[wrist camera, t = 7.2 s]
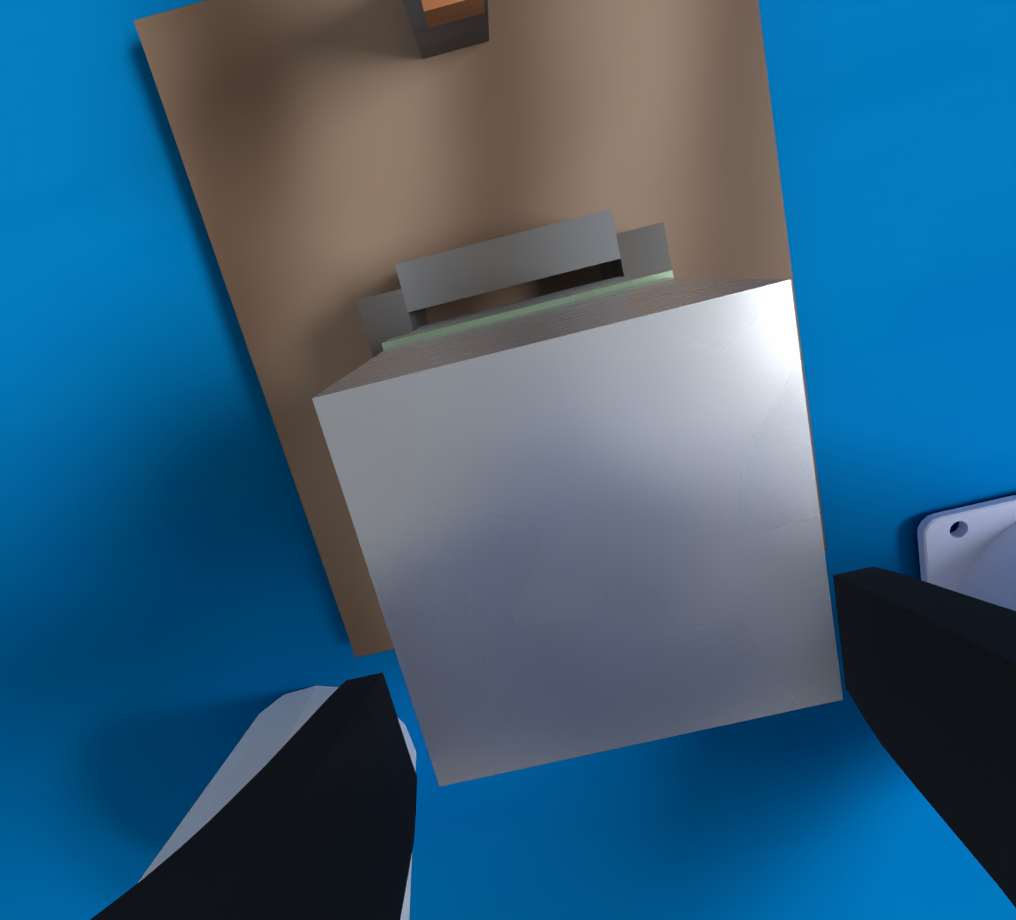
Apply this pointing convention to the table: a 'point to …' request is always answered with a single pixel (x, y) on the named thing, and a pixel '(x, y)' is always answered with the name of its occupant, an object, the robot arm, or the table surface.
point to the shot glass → (260, 765)
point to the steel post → (591, 518)
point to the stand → (455, 179)
